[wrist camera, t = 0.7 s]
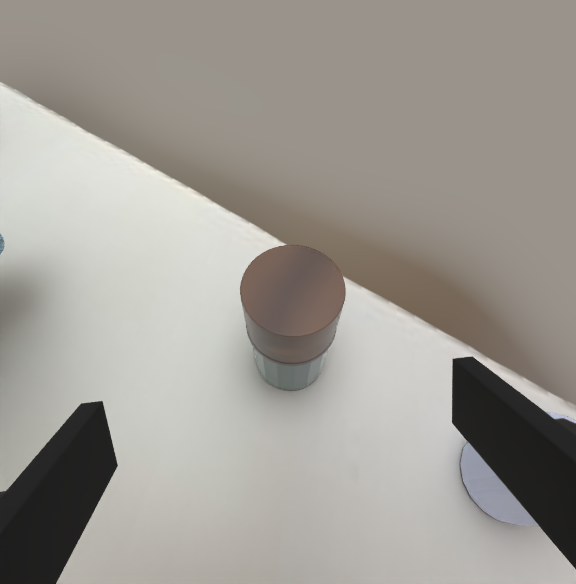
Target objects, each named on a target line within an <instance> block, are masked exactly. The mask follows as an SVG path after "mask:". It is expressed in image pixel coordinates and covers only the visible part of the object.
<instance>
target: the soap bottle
mask: <svg viewBox="0 0 576 584" xmlns="http://www.w3.org/2000/svg"><path fill="white" fill-rule="evenodd" d="M546 413H547V414H549V415H550V416H551V417H553V418H554V419H559V418H565V419H567V420H569V421H571V422H574V423H576V421H575V420H573V419H571V418H569V417H568V416H564V415H559V414H554V413H550V412H546ZM460 465H461V471H462V478H463V482H464V484H465V486H466V488H467V490H468V492H469V494H470V496H471V498H472V499H473V500H474V501H475V502H476V503H477V505H478V506H479V507H480V508H481V509H482V510H483V511H484V512H485V513H487V514H489V515H490V516H492V517H493V518H495V519H497V520H498V521H502V522H506V523H510V524H515V525H529V526H539V525H538V524H537V523H536V522H535V520H534V519H533V518H532V517H531V516H530V514H529V513H528V512H527V511H526V510H525V509H524V507H523V506H522V505H521V504H520V503H519V501H518V500H517V499H516V498H515V497H514V496H513V494H512V493H511V492H510V491H509V490H508V488H507V487H506V486H505V485H504V484H503V483H502V481H501V480H500V479H499V478H498V477H497V475H496V474H495V473H494V472H493V471H492V470H491V468H490V467H489V466H488V465H487V464H486V462H485V461H484V460H483V459H482V458H481V456H480V455H479V454H478V453H477V452H476V451H475V449H474V448H473V447H472V446H471V445H470V443H469V442H468V443H467V444H466V446H465V447H464V449H463V452H462V458H461V464H460Z"/></svg>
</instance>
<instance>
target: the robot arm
mask: <svg viewBox="0 0 576 584" xmlns="http://www.w3.org/2000/svg"><path fill="white" fill-rule="evenodd" d="M3 249H4V240H3V237H2V236H1V234H0V254H1V253H2V251H3ZM452 423H453V425H454V426H455V427H456V428H457V429H458V430H459V432H460V433H461V434H462V435H463V436H464V438H465V439H466V440H467V441H468V442H469V443H470V445H471V446H472V447H473V448H474V449H475V451H476V452H477V453H478V454H479V455H480V456H481V458H482V459H483V460H484V461H485V462H486V464H487V465H488V466H489V467H490V468H491V470H492V471H493V472H494V473H495V474H496V475H497V477H498V478H499V479H500V480H501V481H502V483H503V484H504V485H505V486H506V487H507V488H508V490H509V491H510V492H511V493H512V494H513V496H514V497H515V498H516V499H517V500H518V501H519V503H520V504H521V505H522V506H523V507H524V509H525V510H526V511H527V512H528V513H529V514H530V516H531V517H532V518H533V519H534V520H535V522H536V523H537V524H538V525H539V526H540V527H541V529H542V530H543V531H544V532H545V533H546V535H547V536H548V537H549V538H550V539H551V540H552V542H553V543H554V544H555V545H556V546H557V548H558V549H559V550H560V551H561V552H562V554H563V555H564V556H565V557H566V558H567V559H568V561H569V562H570V563H571V564H572V565H573V567H574V568H575V569H576V423H574V422H571V421H569V420H567V419H565V418H559V419H554V418H553V417H551V416H550V415H549V414H547V413H546V412H545V411H543V410H542V409H541V408H539V407H538V406H537V405H535V404H534V403H533V402H531V401H530V400H529V399H528V398H526V397H525V396H524V395H522V394H521V393H520V392H518V391H517V390H516V389H514V388H513V387H512V386H510V385H509V384H508V383H506V382H505V381H504V380H502V379H501V378H500V377H499V376H497V375H496V374H495V373H493V372H492V371H491V370H489V369H488V368H487V367H485V366H484V365H483V364H481V363H480V362H479V361H477V360H476V359H475V358H474V357H464V358H456V359H453V378H452ZM117 466H118V465H117V461H116V457H115V452H114V448H113V444H112V440H111V435H110V431H109V427H108V423H107V418H106V414H105V410H104V406H103V401H99V402H91V403H82V404H80V406H79V407H78V408H77V409H76V410H75V411H74V413H73V414H72V415H71V416H70V417H69V418H68V420H67V421H66V422H65V423H64V424H63V425H62V427H61V428H60V429H59V430H58V431H57V432H56V434H55V435H54V436H53V437H52V438H51V439H50V441H49V442H48V443H47V444H46V445H45V446H44V448H43V449H42V450H41V451H40V452H39V453H38V455H37V456H36V457H35V458H34V459H33V460H32V462H31V463H30V464H29V465H28V466H27V467H26V469H25V470H24V471H23V472H22V473H21V474H20V476H19V477H18V478H17V479H16V480H15V481H14V483H13V484H12V485H11V486H10V487H9V488H8V490H7V491H3V492H0V584H56V582H57V581H58V579H59V577H60V575H61V573H62V571H63V569H64V567H65V565H66V563H67V561H68V560H69V558H70V556H71V554H72V552H73V550H74V548H75V546H76V544H77V542H78V540H79V539H80V537H81V535H82V533H83V531H84V529H85V527H86V525H87V523H88V521H89V519H90V518H91V516H92V514H93V512H94V510H95V508H96V506H97V504H98V502H99V500H100V498H101V497H102V495H103V493H104V491H105V489H106V487H107V485H108V483H109V481H110V479H111V477H112V476H113V474H114V472H115V470H116V468H117Z"/></svg>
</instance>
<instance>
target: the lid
mask: <svg viewBox="0 0 576 584" xmlns="http://www.w3.org/2000/svg"><path fill="white" fill-rule="evenodd" d="M240 295H241V301H242V306H243V311H244V316H245V321H246V328H247V333H248V337H249V339H250V342H251V344H252V345H253V347H254V348H255V349H256V351H257V352H258V353H259V354H260V355H261V356H263V357H264V358H266V359H267V360H269V361H271V362H273V363H276V364H279V365H283V366H300V365H305V364H308V363H310V362H313V361H315V360H316V359H318V358H319V357H321V356H322V355H323V354H324V353H325V352H326V351H327V350H328V349H329V347H330V345H331V344H332V342H333V340H334V337H335V333H336V328H337V325H338V321H339V318H340V314H341V311H342V307H343V304H344V301H345V283H344V279H343V276H342V274H341V272H340V270H339V269H338V267H337V266H336V265H335V264H334V262H333V261H332V260H331V259H329V258H328V257H327V256H326V255H324V254H322V253H321V252H319V251H317V250H315V249H312V248H309V247H305V246H300V245H285V246H279V247H275V248H272V249H270V250H267V251H266V252H264V253H262V254H261V255H259V256H258V257H256V258H255V259H254V260H253V261H252V262H251V264H250V265H249V266H248V267H247V269H246V271H245V273H244V275H243V277H242V281H241V286H240Z"/></svg>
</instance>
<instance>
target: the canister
mask: <svg viewBox="0 0 576 584" xmlns="http://www.w3.org/2000/svg"><path fill="white" fill-rule="evenodd" d="M253 348H254V347H253ZM327 351H328V350H327ZM327 351H326V352H325V353H324V354H323V355H322V356H321V357H319V358H318V359H316V360H315V361H313V362H310V363H308V364H305V365H300V366H283V365H279V364H276V363H273V362H271V361H269V360H267V359H266V358H264V357H263V356H261V355H260V354H259V353H258V352H257V351H256V349H255V348H254V353H255V359H256V363H257V367H258V370H259V372H260V374H261V376H262V377H263V378H264V379H265V381H267V382H268V383H269V384H270V385H272V386H274V387H276V388H278V389H281V390H287V391H294V390H299V389H302V388H305V387H307V386H308V385H310V384H311V383H312V382H314V381H315V380H316V378H317V377H318V376H319V374H320V372H321V370H322V368H323V366H324V362H325V359H326V355H327Z"/></svg>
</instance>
